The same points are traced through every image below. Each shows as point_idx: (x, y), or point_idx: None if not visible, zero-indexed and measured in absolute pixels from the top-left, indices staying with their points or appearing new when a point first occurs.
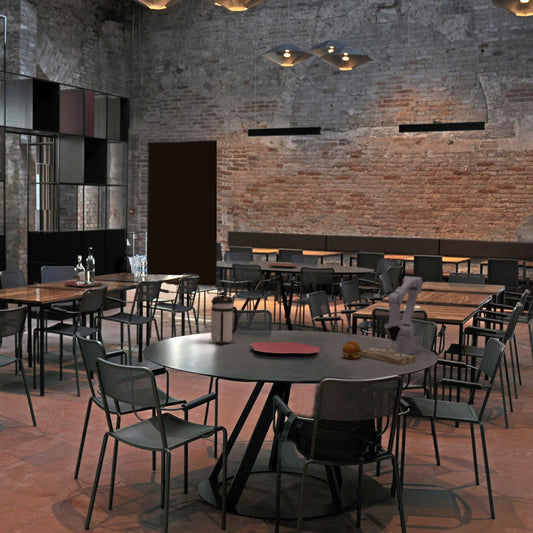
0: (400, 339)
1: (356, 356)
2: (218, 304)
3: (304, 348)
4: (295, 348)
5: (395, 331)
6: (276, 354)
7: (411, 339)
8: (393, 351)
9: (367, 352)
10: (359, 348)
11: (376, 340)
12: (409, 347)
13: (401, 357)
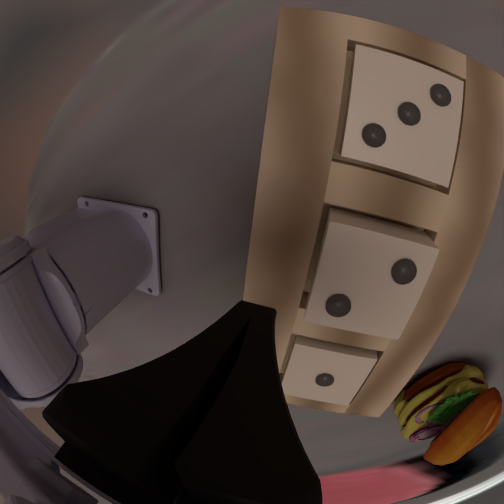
0: (89, 304)
1: (480, 371)
2: None
3: (351, 484)
4: (364, 488)
5: (273, 438)
6: (454, 473)
7: (30, 245)
8: (360, 225)
9: (410, 376)
10: (472, 406)
11: None
12: (85, 221)
13: (459, 82)
